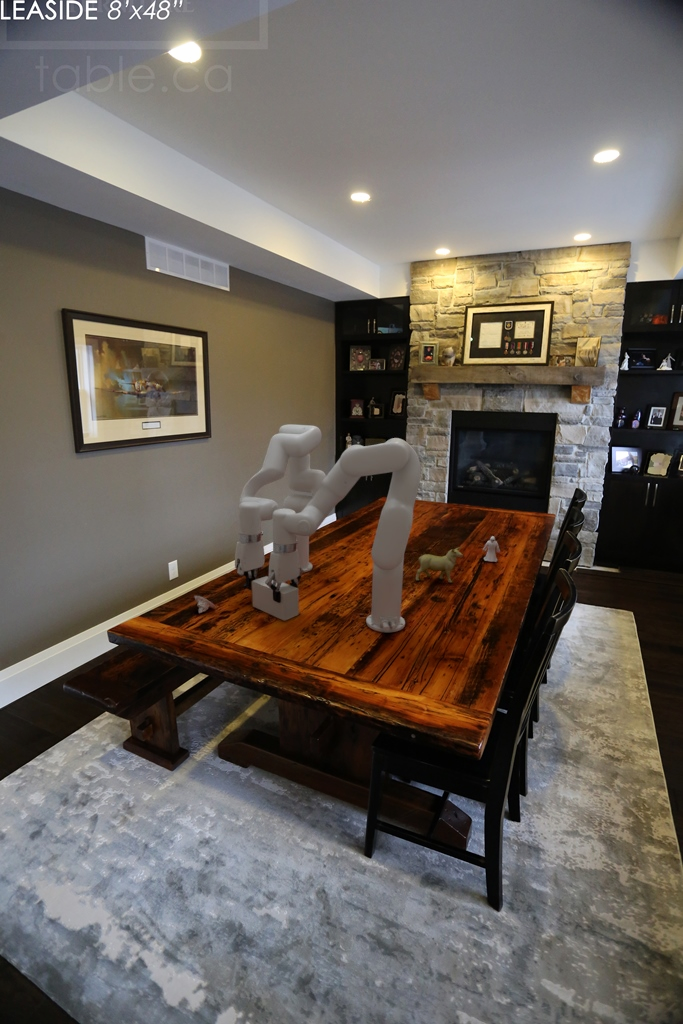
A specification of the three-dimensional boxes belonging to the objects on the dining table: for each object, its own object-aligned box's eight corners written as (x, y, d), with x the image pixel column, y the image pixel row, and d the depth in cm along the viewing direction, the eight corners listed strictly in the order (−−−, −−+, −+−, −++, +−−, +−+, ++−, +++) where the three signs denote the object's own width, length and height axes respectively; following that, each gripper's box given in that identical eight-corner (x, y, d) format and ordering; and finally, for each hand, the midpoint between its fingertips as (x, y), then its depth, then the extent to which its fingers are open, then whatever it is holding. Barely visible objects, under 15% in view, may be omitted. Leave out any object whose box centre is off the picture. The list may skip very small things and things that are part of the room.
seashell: (200, 621, 170) (185, 603, 169) (211, 610, 173) (196, 593, 173) (208, 616, 164) (192, 598, 163) (220, 606, 167) (204, 588, 166)
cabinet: (252, 606, 174) (251, 580, 172) (267, 600, 179) (266, 576, 176) (284, 620, 163) (283, 593, 161) (298, 614, 168) (298, 588, 166)
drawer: (241, 597, 179) (240, 577, 177) (253, 593, 183) (252, 574, 181) (280, 615, 165) (280, 594, 163) (292, 610, 169) (292, 589, 167)
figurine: (481, 562, 222) (483, 536, 219) (482, 556, 230) (484, 531, 227) (499, 564, 220) (501, 538, 217) (499, 558, 228) (501, 533, 225)
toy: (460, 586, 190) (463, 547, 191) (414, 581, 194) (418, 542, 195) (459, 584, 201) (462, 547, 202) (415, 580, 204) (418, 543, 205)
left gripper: (260, 531, 181) (260, 579, 185) (225, 539, 170) (226, 589, 174) (273, 535, 176) (273, 584, 180) (239, 543, 166) (240, 595, 170)
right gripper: (296, 539, 170) (297, 588, 175) (256, 550, 158) (257, 602, 162) (312, 543, 165) (311, 594, 170) (271, 555, 153) (272, 609, 157)
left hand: (250, 587), depth 177 cm, fingers closed
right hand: (285, 597), depth 166 cm, fingers closed on cabinet, 6 cm apart
